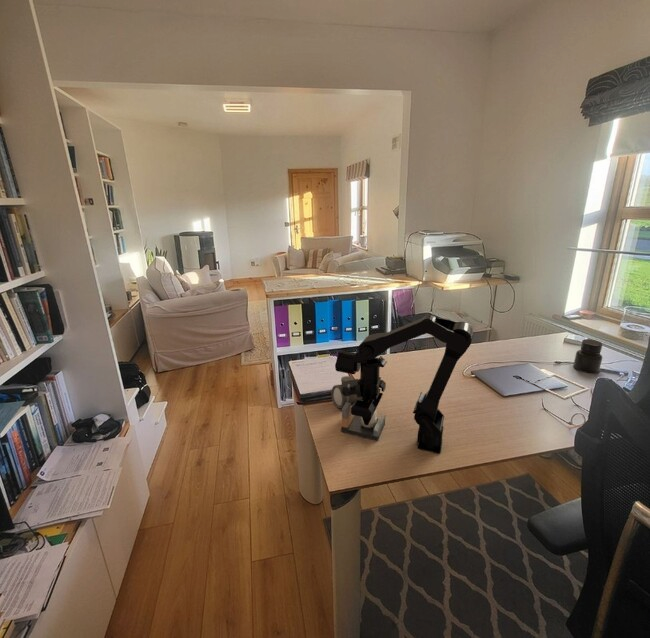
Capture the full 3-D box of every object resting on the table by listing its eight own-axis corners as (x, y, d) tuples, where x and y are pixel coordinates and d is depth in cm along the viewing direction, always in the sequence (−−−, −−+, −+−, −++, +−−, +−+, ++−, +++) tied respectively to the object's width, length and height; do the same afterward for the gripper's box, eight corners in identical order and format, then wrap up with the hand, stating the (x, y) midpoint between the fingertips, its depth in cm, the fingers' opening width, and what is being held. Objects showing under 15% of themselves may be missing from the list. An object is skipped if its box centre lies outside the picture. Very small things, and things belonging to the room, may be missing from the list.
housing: (378, 420, 113) (378, 406, 112) (374, 429, 109) (374, 415, 107) (363, 416, 115) (363, 403, 113) (358, 425, 111) (358, 411, 109)
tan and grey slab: (355, 414, 118) (355, 397, 116) (347, 427, 111) (347, 410, 109) (349, 412, 118) (349, 396, 116) (341, 426, 112) (341, 409, 109)
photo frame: (543, 368, 148) (589, 388, 132) (542, 370, 148) (588, 390, 133) (519, 376, 142) (564, 397, 126) (519, 378, 142) (563, 400, 127)
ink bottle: (589, 363, 153) (595, 337, 149) (605, 373, 144) (612, 346, 140) (567, 364, 152) (573, 338, 148) (582, 373, 144) (588, 347, 140)
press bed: (384, 424, 115) (385, 415, 114) (377, 440, 107) (378, 431, 106) (350, 416, 119) (350, 407, 118) (341, 431, 112) (341, 422, 111)
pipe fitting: (340, 412, 121) (342, 384, 119) (329, 402, 128) (331, 376, 126) (369, 406, 126) (371, 380, 124) (357, 397, 133) (359, 372, 131)
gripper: (354, 359, 117) (353, 400, 123) (333, 386, 101) (334, 431, 106) (386, 364, 113) (385, 406, 119) (371, 393, 97) (370, 440, 102)
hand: (368, 419), depth 112 cm, fingers closed on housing, 5 cm apart
